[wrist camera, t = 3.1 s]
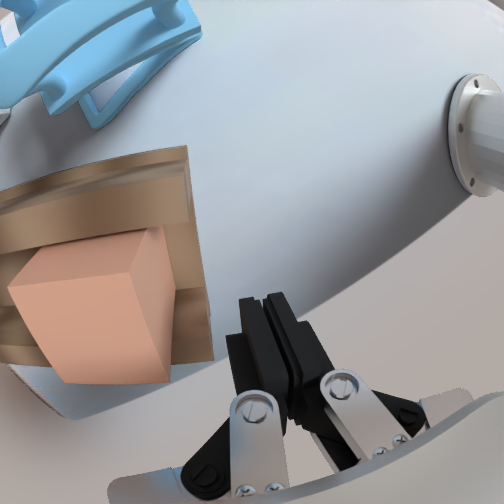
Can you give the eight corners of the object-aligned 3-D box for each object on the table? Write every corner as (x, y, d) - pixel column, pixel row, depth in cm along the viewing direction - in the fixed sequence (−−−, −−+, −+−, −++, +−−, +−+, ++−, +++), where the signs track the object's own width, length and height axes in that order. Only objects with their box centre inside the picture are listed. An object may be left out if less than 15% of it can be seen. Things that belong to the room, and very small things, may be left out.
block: (158, 202, 16) (129, 272, 9) (175, 287, 18) (170, 382, 11) (71, 217, 15) (6, 287, 8) (97, 295, 18) (64, 382, 11)
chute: (187, 145, 15) (180, 158, 10) (209, 307, 21) (215, 367, 16) (-44, 210, 13) (-85, 240, 7) (1, 323, 18) (-22, 364, 13)
